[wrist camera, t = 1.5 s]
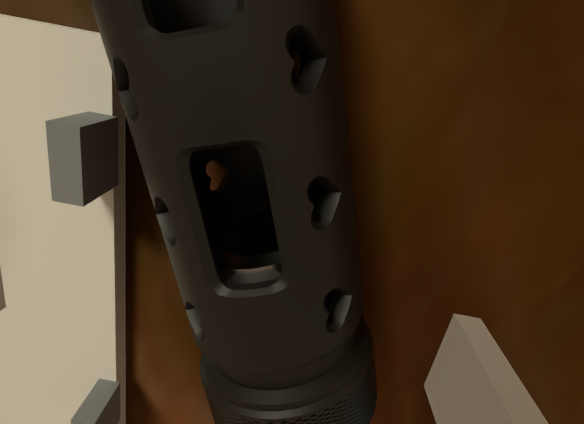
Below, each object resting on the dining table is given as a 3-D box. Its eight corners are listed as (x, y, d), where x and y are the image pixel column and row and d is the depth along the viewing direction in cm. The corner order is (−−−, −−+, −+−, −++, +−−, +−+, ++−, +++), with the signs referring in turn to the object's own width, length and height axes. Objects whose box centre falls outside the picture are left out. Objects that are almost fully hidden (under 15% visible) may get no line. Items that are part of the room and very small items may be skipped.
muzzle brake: (322, -134, 17) (329, -387, 7) (367, 345, 27) (394, 500, 18) (127, -91, 18) (-88, -262, 8) (241, 354, 28) (203, 504, 19)
